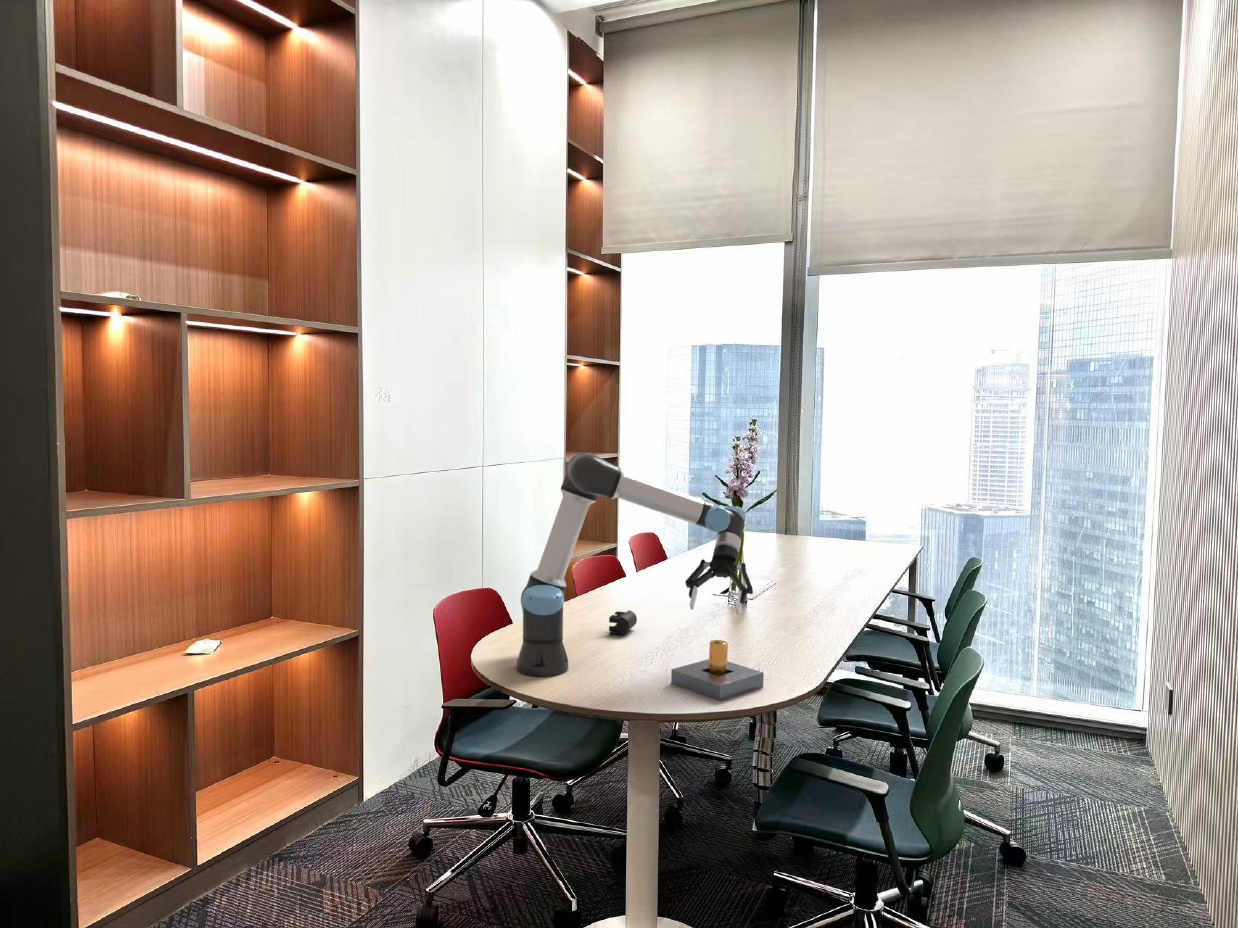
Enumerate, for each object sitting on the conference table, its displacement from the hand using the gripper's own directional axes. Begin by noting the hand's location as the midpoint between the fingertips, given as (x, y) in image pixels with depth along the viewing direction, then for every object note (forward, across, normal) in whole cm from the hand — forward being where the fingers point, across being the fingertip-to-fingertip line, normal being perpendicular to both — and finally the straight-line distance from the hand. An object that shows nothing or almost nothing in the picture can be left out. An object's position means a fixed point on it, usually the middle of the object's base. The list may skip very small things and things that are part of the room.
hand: (714, 609), depth 243 cm
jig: (+22, -4, -4) cm, 22 cm away
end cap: (-7, +38, -34) cm, 51 cm away
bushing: (+22, -4, -4) cm, 22 cm away
